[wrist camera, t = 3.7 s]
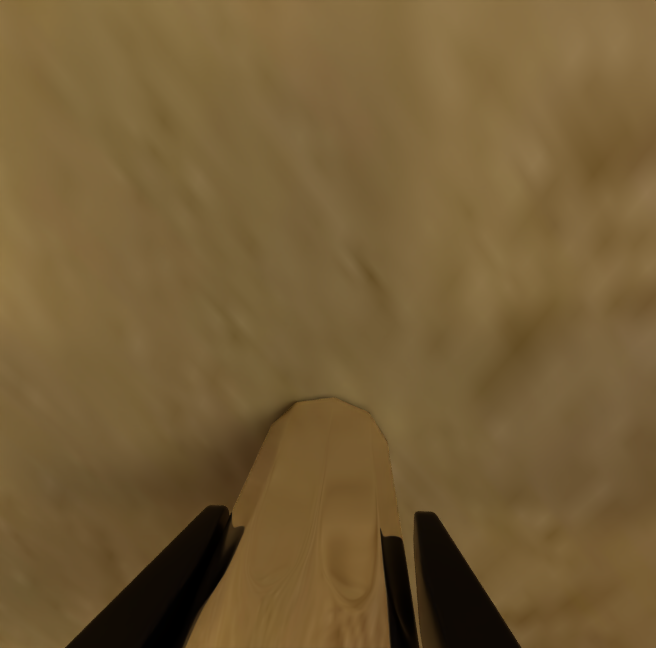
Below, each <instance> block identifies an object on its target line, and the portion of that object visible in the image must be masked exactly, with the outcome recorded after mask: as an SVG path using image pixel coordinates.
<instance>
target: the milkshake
mask: <svg viewBox="0 0 656 648" xmlns="http://www.w3.org/2000/svg"><path fill="white" fill-rule="evenodd" d="M169 648H419V642H418V635H417V629H416V622H415V615H414V608H413V602H412V595H411V589H410V582H409V576H408V569H407V563H406V556H405V550H404V544H403V537H402V531H401V524H400V518H399V512H398V505H397V499H396V493H395V486H394V480H393V473H392V467H391V461H390V454H389V448H388V443H387V440H386V438H385V437H384V435H383V434H382V432H381V430H380V429H379V427H378V426H377V424H376V423H375V421H374V419H373V418H372V416H371V414H370V413H369V412H367V411H365V410H363V409H360V408H358V407H356V406H353V405H351V404H349V403H346V402H344V401H342V400H339V399H337V398H335V397H332V398H324V399H317V400H308V401H300V402H296V403H295V404H294V405H293V406H292V407H291V408H290V409H288V410H287V411H286V412H285V413H284V414H283V415H282V416H281V417H280V418H278V419H277V420H276V421H275V422H274V423H273V424H272V426H271V428H270V430H269V432H268V434H267V436H266V438H265V440H264V443H263V445H262V447H261V449H260V451H259V453H258V456H257V458H256V460H255V462H254V464H253V467H252V469H251V471H250V473H249V475H248V477H247V480H246V482H245V484H244V486H243V488H242V491H241V493H240V495H239V497H238V499H237V502H236V504H235V506H234V508H233V510H232V512H231V515H230V517H229V519H228V521H227V523H226V526H225V528H224V530H223V532H222V534H221V537H220V539H219V541H218V543H217V545H216V547H215V550H214V552H213V554H212V556H211V558H210V561H209V563H208V565H207V567H206V570H205V572H204V574H203V576H202V578H201V581H200V583H199V585H198V587H197V590H196V592H195V594H194V596H193V598H192V601H191V603H190V605H189V607H188V609H187V611H186V614H185V616H184V618H183V620H182V622H181V624H180V626H179V628H178V631H177V633H176V635H175V637H174V639H173V641H172V643H171V645H170V647H169Z"/></svg>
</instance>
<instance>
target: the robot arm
mask: <svg viewBox="0 0 656 648" xmlns="http://www.w3.org/2000/svg"><path fill="white" fill-rule="evenodd" d="M229 517H230V515H229V510H228V508H227V507H226V506H222V505H210V506H208V507H206V508H205V509H204V510H203V511H202V512H201V513H200V514H199V515H198V516H197V517H196V518H195V519H194V520H193V521H192V522H191V523H190V524H189V525H188V526H187V527H186V528H185V529H184V530H183V531H182V532H181V533H180V534H179V535H178V536H177V537H176V538H175V539H174V540H173V541H172V542H171V543H170V544H169V545H168V546H167V547H166V548H165V549H164V550H163V551H162V552H161V553H160V554H159V555H158V556H157V557H156V558H155V559H154V560H153V561H152V562H151V563H150V564H149V565H148V566H147V567H146V568H145V569H144V570H143V571H142V572H141V573H140V574H139V575H138V576H137V577H136V578H135V579H134V580H133V581H132V582H131V583H130V584H129V585H128V586H127V587H126V588H125V589H124V590H123V591H122V592H121V593H120V594H119V595H118V596H117V597H116V598H115V599H114V600H113V601H112V602H111V603H110V604H109V605H108V606H106V607H105V608H104V609H103V610H102V611H101V612H100V613H99V614H98V615H97V616H96V617H95V618H94V619H93V620H92V621H91V622H90V623H89V624H88V625H87V626H86V627H85V628H84V629H83V630H82V631H81V632H80V633H79V634H78V635H77V636H76V637H75V638H74V639H73V640H72V641H71V642H70V643H69V644H68V645H67V646H66V647H65V648H169V647H170V645H171V643H172V641H173V639H174V637H175V635H176V633H177V631H178V628H179V626H180V624H181V622H182V620H183V618H184V616H185V614H186V611H187V609H188V607H189V605H190V603H191V601H192V598H193V596H194V594H195V592H196V590H197V587H198V585H199V583H200V581H201V578H202V576H203V574H204V572H205V570H206V567H207V565H208V563H209V561H210V558H211V556H212V554H213V552H214V550H215V547H216V545H217V543H218V541H219V539H220V537H221V534H222V532H223V530H224V528H225V526H226V523H227V521H228V519H229ZM414 559H415V573H416V587H417V601H418V614H419V625H420V633H421V640H422V646H423V648H521V646H520V645H519V643H518V642H517V640H516V639H515V637H514V635H513V634H512V632H511V631H510V629H509V628H508V626H507V624H506V623H505V621H504V620H503V618H502V617H501V615H500V613H499V612H498V610H497V609H496V607H495V606H494V604H493V603H492V601H491V599H490V598H489V596H488V595H487V593H486V592H485V590H484V588H483V587H482V585H481V584H480V582H479V581H478V579H477V577H476V576H475V574H474V573H473V571H472V570H471V568H470V567H469V565H468V563H467V562H466V560H465V559H464V557H463V556H462V554H461V552H460V551H459V549H458V548H457V546H456V545H455V543H454V541H453V540H452V538H451V537H450V535H449V534H448V532H447V531H446V529H445V527H444V526H443V524H442V523H441V521H440V520H439V518H438V516H437V515H436V514H435V513H434V512H424V511H418V512H416V513H415V514H414Z"/></svg>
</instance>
